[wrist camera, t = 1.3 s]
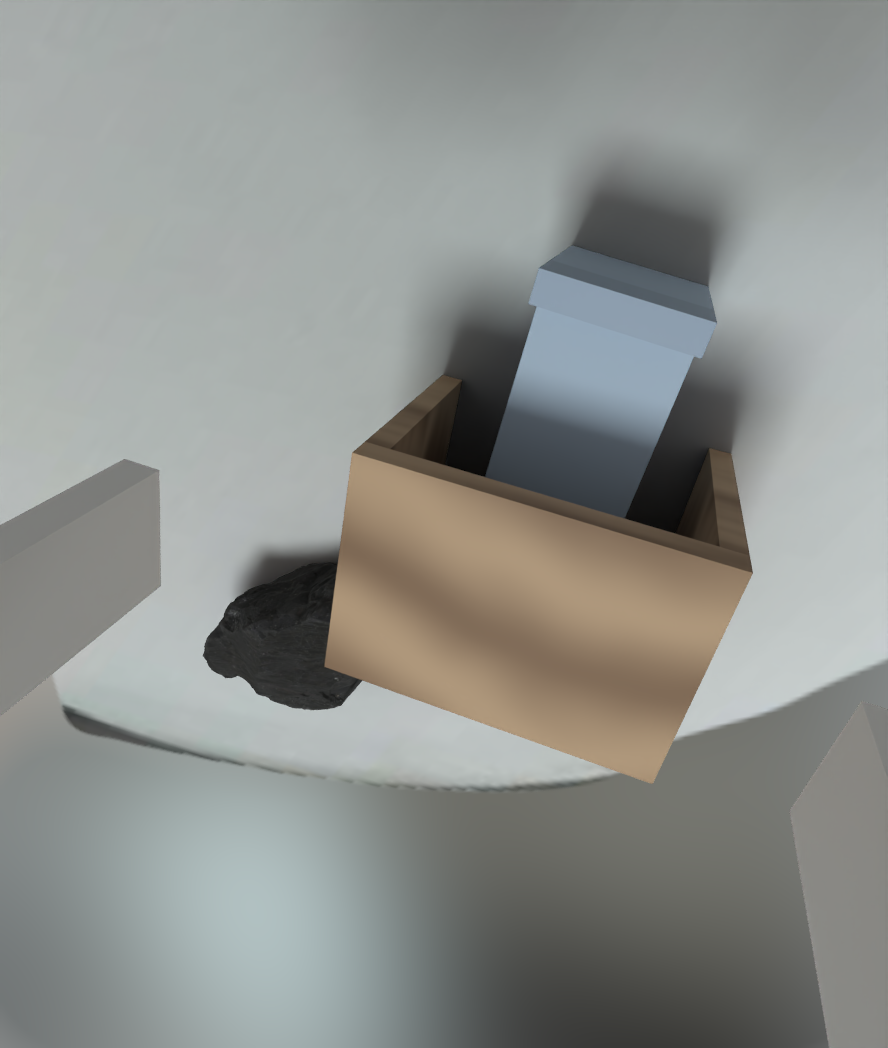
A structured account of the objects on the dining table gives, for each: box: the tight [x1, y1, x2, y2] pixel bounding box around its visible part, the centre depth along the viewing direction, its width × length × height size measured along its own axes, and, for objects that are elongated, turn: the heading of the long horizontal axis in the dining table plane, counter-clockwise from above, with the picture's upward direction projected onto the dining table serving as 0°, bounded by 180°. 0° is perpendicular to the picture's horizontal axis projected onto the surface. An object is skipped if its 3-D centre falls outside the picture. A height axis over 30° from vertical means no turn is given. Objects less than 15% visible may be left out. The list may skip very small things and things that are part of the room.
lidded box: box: [485, 245, 717, 519], centre depth 30 cm, size 14×6×8 cm, turn 166°
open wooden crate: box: [324, 375, 753, 784], centre depth 31 cm, size 10×14×11 cm
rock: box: [203, 563, 362, 710], centre depth 41 cm, size 10×9×6 cm
